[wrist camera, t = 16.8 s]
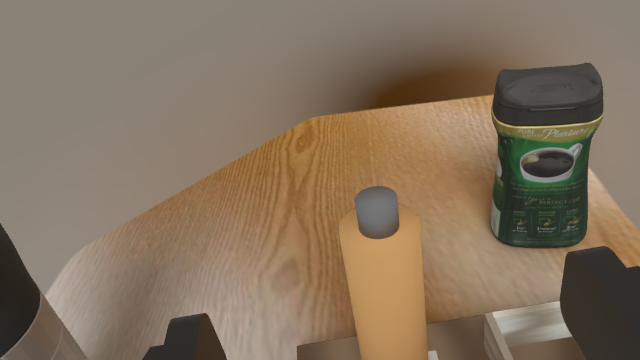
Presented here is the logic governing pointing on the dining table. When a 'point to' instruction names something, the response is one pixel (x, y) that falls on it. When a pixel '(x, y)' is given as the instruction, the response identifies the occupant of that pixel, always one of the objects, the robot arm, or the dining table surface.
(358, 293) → the tall tan cylinder
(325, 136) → the dining table surface
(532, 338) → the board
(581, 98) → the coffee jar
